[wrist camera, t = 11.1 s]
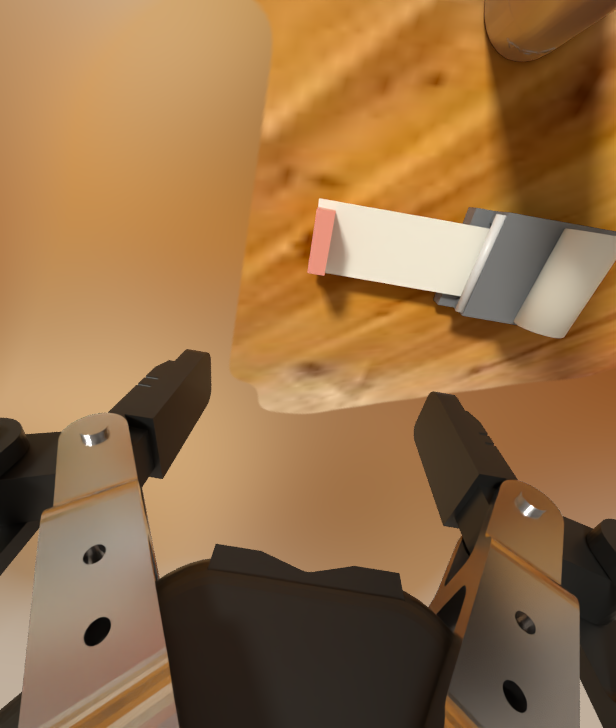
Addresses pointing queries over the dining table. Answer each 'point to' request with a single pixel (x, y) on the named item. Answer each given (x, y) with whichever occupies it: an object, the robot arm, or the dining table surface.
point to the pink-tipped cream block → (394, 247)
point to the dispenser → (533, 271)
